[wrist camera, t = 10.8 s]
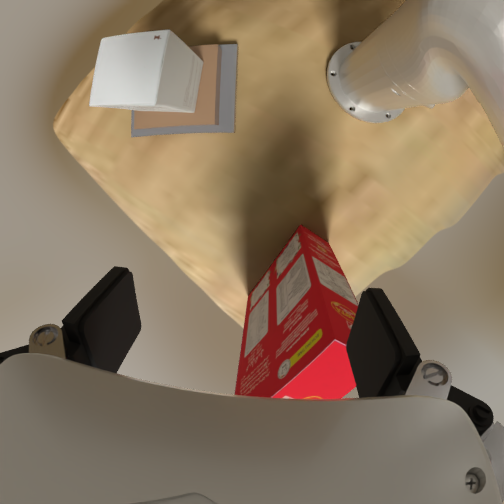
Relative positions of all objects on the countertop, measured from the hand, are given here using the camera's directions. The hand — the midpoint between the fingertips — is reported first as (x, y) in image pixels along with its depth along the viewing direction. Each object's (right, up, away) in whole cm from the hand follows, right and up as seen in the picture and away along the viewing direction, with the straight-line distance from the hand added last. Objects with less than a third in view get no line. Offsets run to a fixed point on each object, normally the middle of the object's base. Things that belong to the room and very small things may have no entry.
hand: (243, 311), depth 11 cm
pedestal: (-9, +25, +23) cm, 35 cm away
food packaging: (+6, -1, +33) cm, 34 cm away
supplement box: (-10, +23, +19) cm, 31 cm away
